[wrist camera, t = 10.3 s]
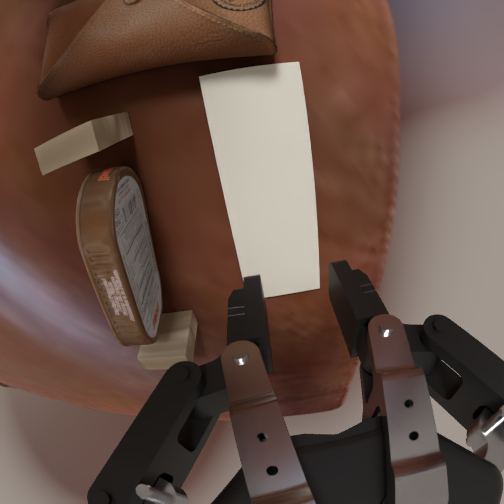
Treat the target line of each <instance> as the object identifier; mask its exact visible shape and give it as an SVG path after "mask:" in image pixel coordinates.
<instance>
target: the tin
mask: <svg viewBox="0 0 504 504" xmlns="http://www.w3.org/2000/svg"><path fill="white" fill-rule="evenodd" d="M76 233H77V240H78V245H79V249H80V252H81V255H82V259H83V261H84V264H85V267H86V270H87V272H88V275H89V278H90V281H91V283H92V286H93V288H94V291H95V293H96V296H97V298H98V301H99V303H100V305H101V308H102V310H103V312H104V315H105V317H106V319H107V321H108V324H109V326H110V328H111V330H112V332H113V334H114V336H115V338H116V339H117V341H118V342H119V343H120V344H122V345H124V346H130V345H150V344H153V343H155V342H156V341H157V339H158V331H159V326H160V319H161V316H162V310H163V301H162V287H161V279H160V274H159V269H158V264H157V260H156V255H155V250H154V245H153V240H152V235H151V230H150V224H149V219H148V213H147V208H146V202H145V198H144V193H143V189H142V186H141V183H140V181H139V178H138V176H137V175H136V173H135V172H134V171H133V170H132V169H131V168H129V167H125V166H118V167H112V168H107V169H101V168H97V169H94V170H92V171H91V172H90V173H89V174H88V175H87V176H86V177H85V179H84V181H83V183H82V185H81V188H80V191H79V194H78V198H77V205H76Z"/></svg>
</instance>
